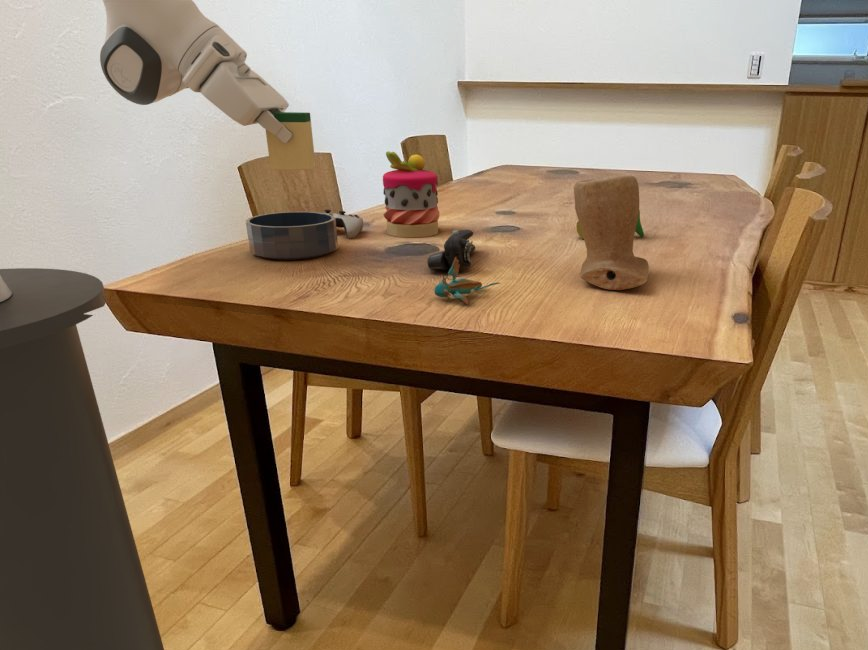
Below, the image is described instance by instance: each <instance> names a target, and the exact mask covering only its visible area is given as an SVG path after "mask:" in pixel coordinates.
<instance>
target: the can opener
mask: <svg viewBox="0 0 868 650" xmlns="http://www.w3.org/2000/svg"><path fill="white" fill-rule="evenodd" d="M473 235H474V231H473V230H470V229H460V230H458V229H454V230H452V232H451V235H450V236H449V237H448V238H447V239H446V240H445V242H444V244H443V250H442V251H439V252H436V253H432V254H430V255H428V258H427V267H428V268H429V270H434V271H436V270H441V271H443V270H450V268H451V267H452V264H453V262H454V259H455V257H456V259H457V260H459V262H458V265H459V264H460V266H459V271H462V270H465V269H467V268H469V267H471V266H472V262H471V256H470V255H472V254H473V253H474V252H475V251H476V248H477V247H476V246H475V244H473V240H471V241H470V238H472V237H473Z"/></svg>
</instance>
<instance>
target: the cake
mask: <svg viewBox="0 0 868 650" xmlns="http://www.w3.org/2000/svg"><path fill="white" fill-rule="evenodd" d="M385 156H386V158H387V160H388V162H389V163H390V168H391V169H393V170H390V171H387V172H384V173H383V175H382V185H383V195H384V205H385V210H386V211H385V212H384V214H383V217H384V219H385V220H386V231H387V232H386V233H387V235H390V236H393V237H398V238H423V237H430V236H435V235H437V234H438V233H439V219H440V210H439V207H438V204H439V198H438V195H439V193H438V188H437V187H438V184H439V179H438V175H437V174H436V173H435V172H433V171H431V170H426V169H424V168H425V163H426V162H425V159H424V157H423V156H421V155H420V154H416V153H415V154H412V155H410V156H409V157H408V160H407V161H405V160H402V159H401V158H400V156H399V155H398V154H397V152H395V151H386V152H385Z"/></svg>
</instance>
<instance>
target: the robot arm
mask: <svg viewBox="0 0 868 650" xmlns="http://www.w3.org/2000/svg"><path fill="white" fill-rule="evenodd" d="M102 3H103V5H104V8H105V13H106V28H105V39H104V44H103V45H102V47H101V49H100V53H99V62H100V67H101V70H102V73H103V75H104V77H105V79H106V80H107V83H109V85H110V86H111V87H112V89H113V90H114V91H115V92H116V93H117V94H118V95H120V96H121V97H123V98H124V99H125V100H127V101H129V102H131V103H133V104H136V105H141V106H148V105H150V104H151V105H152V104H155V103H158V102H161V101H162V100H165V99H166V98H169V97H172V96H173V95H176V94H178V93H179V92H181V91H183V90H185V89H190V90H191V91H192V92H194V93H200V94H201V95H202V96H203V97H204V98H205V99H207V101H209V102H210V103H211V104H212V105H214V106H215V107H216V108H218V109H219V110H220V111H221V112H222V113H224V114H225V115H226V116H227V117H229V118H230V119H231V120H232V121H234V122H236V123H238V124H239V125H241V126H242V127H246V126H250V125H256V124H259V125H260V126H261V127H262V128H263V129H264V130H265V131H266V130H268V131H269V132H271V133H272V134H274V135H276V136H277V137H278V138H279V139H280V140H281V141H282V142H283V143H287V142H289V141H290V140H291V139H292V138H293V133H292V132H291V131H290V130H289V129H288V128H287V127H286V126H284V125H282V124H281V123H280V122H279V121H278V120H277V119H276V118H275V117H274V115H273V114H271V113H270V112H286V110H288V109H287V108H289V105H290V104H289V102H288V101H287V100H286V98H285V97H284V96H283V95H281V93H280V92H279V91H277V90H276V89H275V88H274V87H273V86H272V85H271V84H269V83H268V82H267V81H266V80H265V79H264V78H263V77H261V76H260V75H259V74H258V73H257V72H255V71H254V70H253V69H251V67H250V66H249V65H248V64H247V63H246V60H247V58H248V57H247V56H248V54H247V53H248V52H246V50H245V49H243V48H242V47H241V46H240V45H239V44H238V42H236V41H235V40H234V39H233V38H232V37H231V36H230V35H229V34H228V33H227V32H226V31H225V30H224V29H223V28H222V27H221V26H220V25H219V24H217V23H216V22H215V21H212V20H210V19H209V18H208V17H206V16H205V15H204V13H202V12H201V10H200V9H199V7H198V6H197V4H196V2H194V0H102ZM11 295H12V291H11V290H10V289H9V287H8V286H7V285H6V283H5V282H4V280H3V279H2V277H1V276H0V302H2V301H4V300H6V299H8V298H9V297H10V296H11Z"/></svg>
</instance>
